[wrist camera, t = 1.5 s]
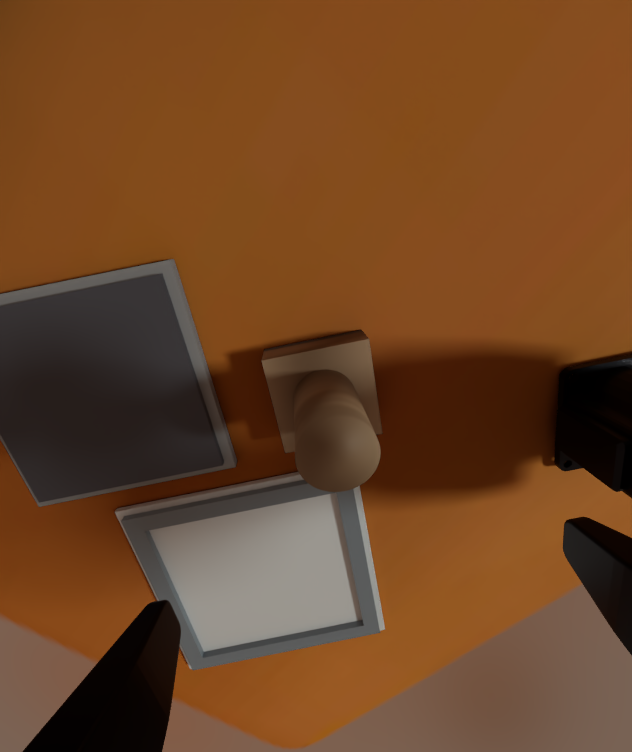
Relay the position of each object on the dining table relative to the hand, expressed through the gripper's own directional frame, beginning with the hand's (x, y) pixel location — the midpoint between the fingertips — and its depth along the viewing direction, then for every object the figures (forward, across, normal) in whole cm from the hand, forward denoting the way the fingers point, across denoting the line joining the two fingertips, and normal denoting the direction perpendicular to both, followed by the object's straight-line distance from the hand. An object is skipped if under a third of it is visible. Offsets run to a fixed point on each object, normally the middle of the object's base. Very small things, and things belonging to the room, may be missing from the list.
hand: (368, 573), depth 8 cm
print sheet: (+12, +6, +12) cm, 18 cm away
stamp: (+12, 0, 0) cm, 12 cm away
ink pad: (+12, +11, -2) cm, 16 cm away
